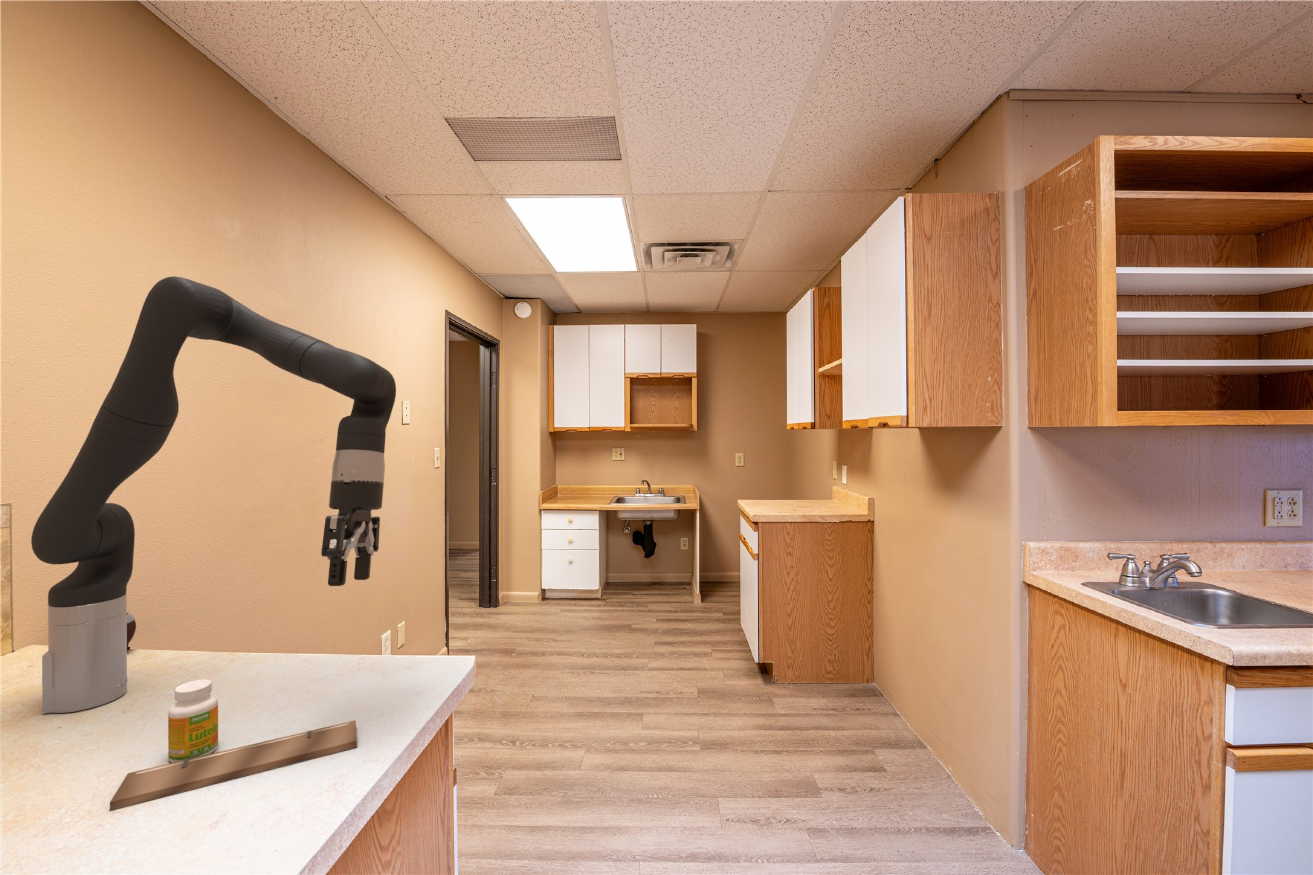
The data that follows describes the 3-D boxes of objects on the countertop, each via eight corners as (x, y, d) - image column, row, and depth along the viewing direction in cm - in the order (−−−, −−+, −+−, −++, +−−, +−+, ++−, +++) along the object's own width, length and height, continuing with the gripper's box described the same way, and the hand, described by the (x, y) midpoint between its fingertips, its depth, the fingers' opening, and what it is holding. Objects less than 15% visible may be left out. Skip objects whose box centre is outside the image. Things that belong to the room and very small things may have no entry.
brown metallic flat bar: (109, 810, 65) (109, 801, 65) (128, 780, 71) (128, 772, 71) (356, 747, 78) (356, 739, 78) (355, 726, 84) (355, 719, 84)
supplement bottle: (189, 767, 74) (188, 696, 73) (157, 762, 75) (157, 692, 75) (227, 745, 79) (227, 678, 79) (198, 741, 80) (197, 675, 80)
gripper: (353, 483, 95) (345, 578, 92) (310, 476, 81) (299, 588, 78) (398, 483, 95) (391, 578, 93) (362, 476, 81) (353, 587, 79)
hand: (349, 582), depth 85 cm, fingers open, 8 cm apart
